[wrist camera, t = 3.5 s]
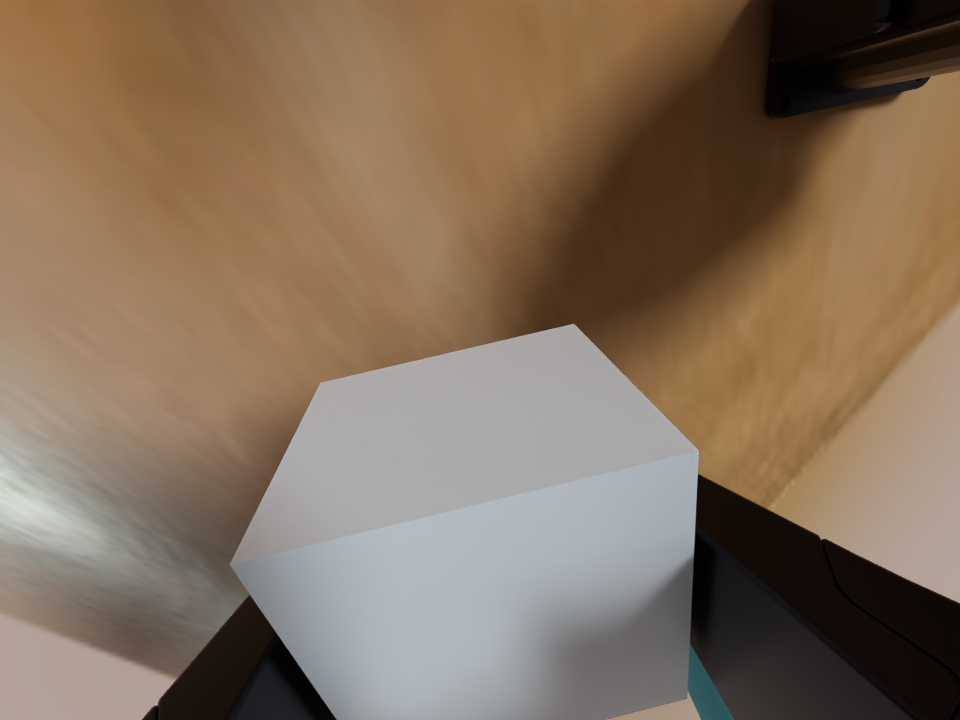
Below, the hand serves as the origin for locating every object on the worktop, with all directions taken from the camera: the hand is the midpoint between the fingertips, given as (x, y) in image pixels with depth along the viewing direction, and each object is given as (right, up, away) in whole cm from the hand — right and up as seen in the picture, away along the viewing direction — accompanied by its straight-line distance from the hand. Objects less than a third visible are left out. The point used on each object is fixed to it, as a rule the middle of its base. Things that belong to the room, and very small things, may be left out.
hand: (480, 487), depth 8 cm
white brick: (0, 0, +1) cm, 1 cm away
